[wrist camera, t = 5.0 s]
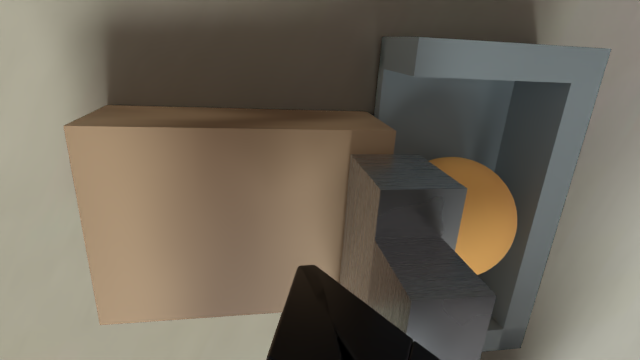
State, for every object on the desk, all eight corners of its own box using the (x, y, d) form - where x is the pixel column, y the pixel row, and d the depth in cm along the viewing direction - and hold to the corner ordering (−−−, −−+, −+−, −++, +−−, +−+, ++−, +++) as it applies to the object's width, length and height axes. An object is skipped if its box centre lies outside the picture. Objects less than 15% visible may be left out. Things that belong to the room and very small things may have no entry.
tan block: (366, 111, 13) (396, 130, 11) (352, 257, 16) (374, 305, 13) (106, 105, 12) (63, 125, 9) (129, 268, 14) (99, 325, 11)
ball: (426, 181, 10) (381, 142, 13) (405, 308, 11) (369, 241, 15) (564, 182, 10) (484, 143, 14) (528, 302, 12) (464, 238, 15)
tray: (538, 46, 14) (611, 49, 11) (477, 298, 17) (520, 348, 15) (382, 36, 13) (419, 37, 10) (354, 307, 16) (375, 362, 14)
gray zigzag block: (418, 154, 11) (533, 234, 6) (398, 295, 12) (477, 435, 8) (350, 154, 10) (421, 238, 6) (338, 299, 12) (387, 447, 8)
